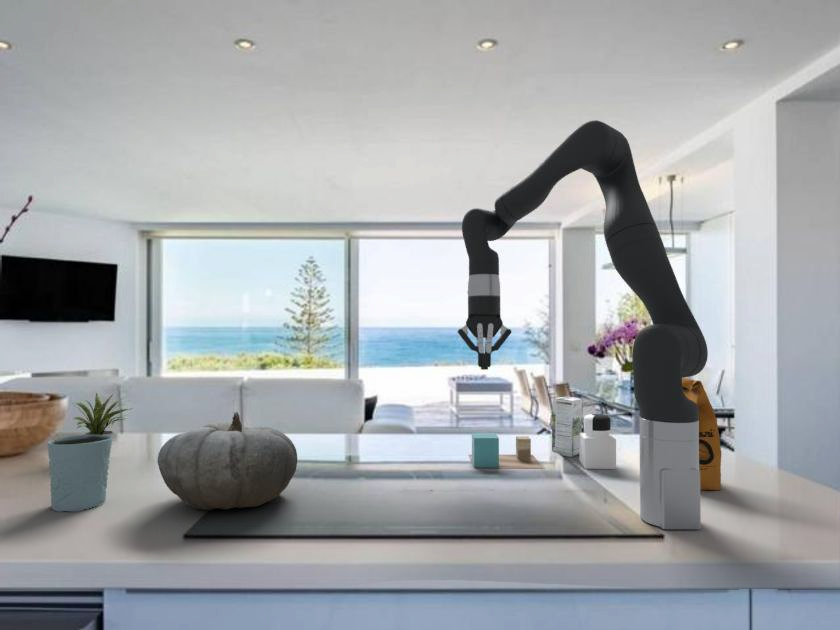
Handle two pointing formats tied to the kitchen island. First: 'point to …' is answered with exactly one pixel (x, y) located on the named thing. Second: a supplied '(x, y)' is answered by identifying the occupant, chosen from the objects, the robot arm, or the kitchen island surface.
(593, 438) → the medicine bottle
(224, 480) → the gourd
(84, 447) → the blue planter pot
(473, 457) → the teal foam cube
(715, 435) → the coffee package
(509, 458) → the board
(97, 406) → the house plant
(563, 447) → the syrup box
